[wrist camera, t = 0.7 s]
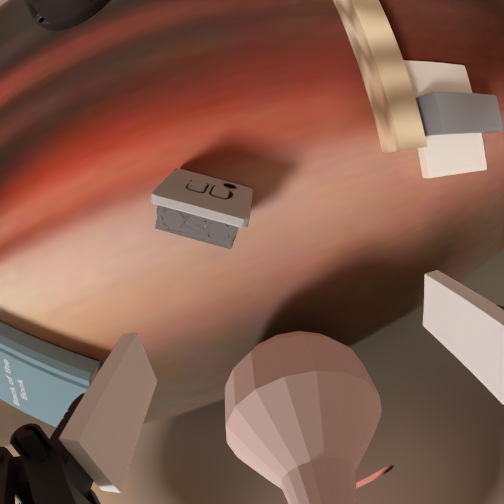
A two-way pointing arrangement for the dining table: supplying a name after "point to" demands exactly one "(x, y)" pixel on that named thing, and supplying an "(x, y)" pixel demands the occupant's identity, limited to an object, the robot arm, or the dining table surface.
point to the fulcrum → (451, 118)
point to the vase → (302, 415)
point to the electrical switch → (202, 207)
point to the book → (41, 375)
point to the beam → (383, 75)
